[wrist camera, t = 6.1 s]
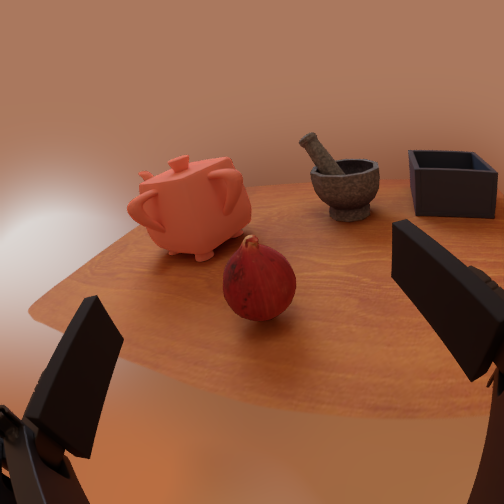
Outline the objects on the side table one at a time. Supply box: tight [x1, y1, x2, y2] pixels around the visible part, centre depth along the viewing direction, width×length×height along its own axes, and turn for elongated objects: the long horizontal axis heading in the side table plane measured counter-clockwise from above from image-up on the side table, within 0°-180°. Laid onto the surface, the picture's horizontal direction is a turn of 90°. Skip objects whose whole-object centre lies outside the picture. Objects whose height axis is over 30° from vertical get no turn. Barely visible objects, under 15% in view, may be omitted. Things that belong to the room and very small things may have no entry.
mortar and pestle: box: [299, 133, 380, 222], centre depth 37 cm, size 11×9×12 cm
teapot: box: [127, 155, 251, 262], centre depth 40 cm, size 17×16×13 cm
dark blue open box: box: [408, 150, 498, 218], centre depth 34 cm, size 13×13×7 cm
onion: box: [223, 234, 296, 321], centre depth 23 cm, size 6×6×8 cm
